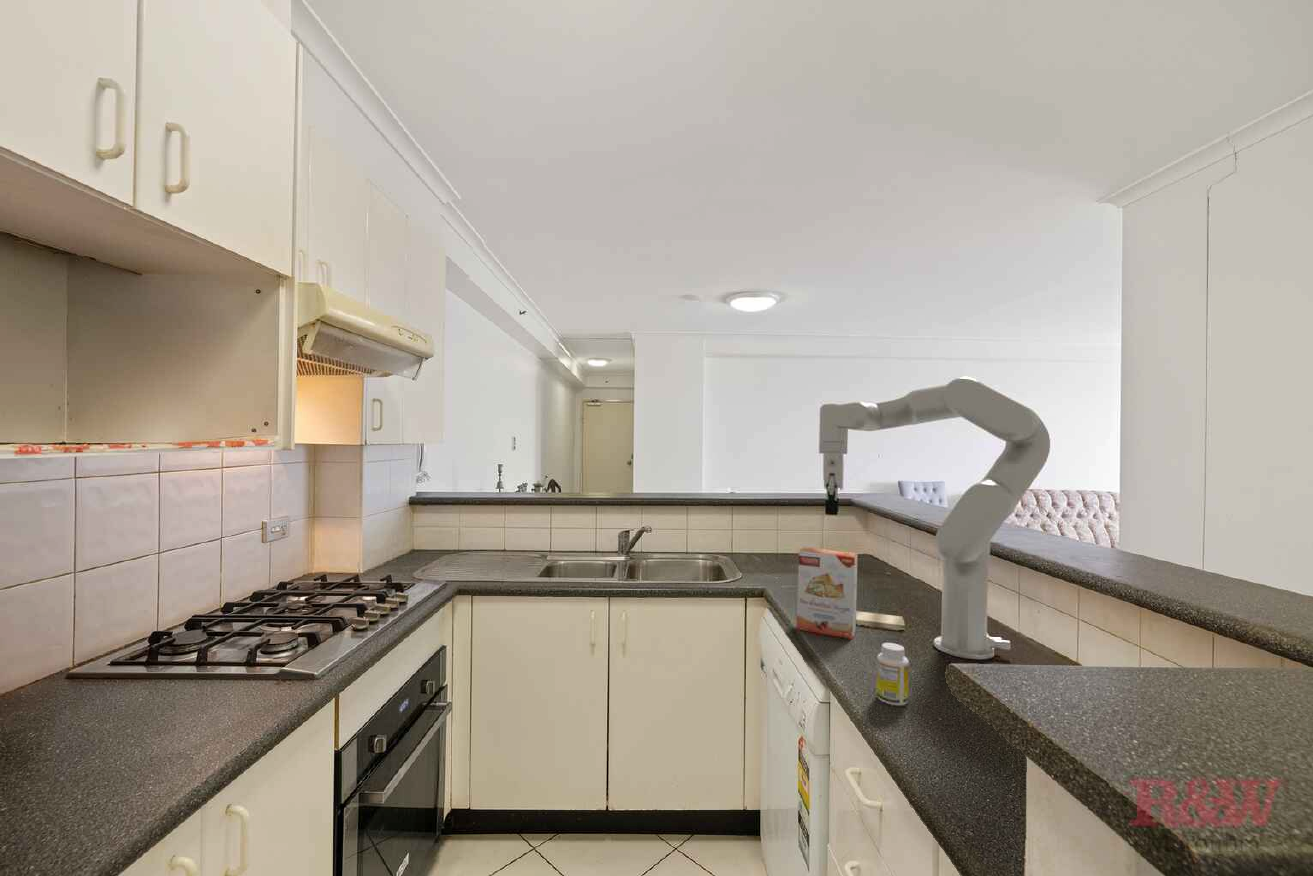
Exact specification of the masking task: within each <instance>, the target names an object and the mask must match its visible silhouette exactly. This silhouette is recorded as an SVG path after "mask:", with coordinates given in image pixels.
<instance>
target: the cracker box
mask: <svg viewBox="0 0 1313 876" xmlns="http://www.w3.org/2000/svg"><path fill="white" fill-rule="evenodd" d="M858 556H859V555H858V553H854V552H847V551H840V550H839V551H838V550H831V549H823V548H815V547H808V546H807V547H806V546H805V547H802V548H801V549H800V550H799V551H798V569H797V572H798V575H797V606H796V610H797V611H796V630H800V631H805V632H809V633H817V634H821V635H826V636H832V637H836V636H839V637H838V638H841V637H844V638H843V639H846V638H848V639H847V640H853V639H854V637H855V634H856V627H857V625H856V611H857V594H858V593H857V590H858V589H857V587H858V586H857V585H858Z"/></svg>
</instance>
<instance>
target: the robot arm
mask: <svg viewBox="0 0 1313 876" xmlns="http://www.w3.org/2000/svg"><path fill="white" fill-rule="evenodd" d="M956 418H957V419H959V418H962V419H964V420H966V421H968V422H970V423H971V424H973V425H975V426H977V427H978V428H979V429H982V430H984V431H985V432H987V433H989V434H990V435H992V436H994V437H996V438H997V439H999V440H1002V441H1004V442H1005V447H1004V449H1003V451H1002V452H1001V454H999V456H998V457H997V459H996V460H995V461H994V463H993V465H992V466H991V468H990V469H989V470H988V472H987V473H986V474H985V476H984V477H983V478H982V479H981V480H980V481H979V482H977V483H974V484H973V485H971V486H970V487H969V488H968V489H966V491H964V493H963V494H962V496H961V497H960V499H959V500H958V501H957V503H955V505H954V507H953V508H952V510H951V511H950V513H949V514H948V516H947V517H946V518H945V520H944V521H943V522H942V524H940V526H939V528H938V530H937V532H936V533H935V539H934V541H935V546H936V549H937V552H938V553H939V554H940V555H941V556H942V558H943V562H942V563H943V564H942V581H941V582H942V585H941V586H942V587H941V621H940V622H941V624H940V625H941V626H940V627H941V629H940V631H941V632H940V634H941V635H940V636H937V637H935V638H934V639H933V646H934V647H935V648H936V649H937V650H939V651H941V652H943V653H945V654H948V655H951V656H954V657H958V658H961V659H962V658H963V659H969V660H990V659H992V658H994V656H995V648H996V649H997V648H998V649H1001V650H1009V651H1010V650H1011V647H1012V645H1011V641H1010V640H1004V639H1002V638H1001V637H995V636H994V637H992V636H990V635H989V633H988V632H987V631H988V596H989V595H988V593H989V592H988V591H989V568H990V567H989V566H990V555H991V540H992V538H993V537H994V535H996V533H997V532H998V530H999V529H1000V527H1002V526H1003V524H1004V523H1005V522H1006V520H1007V519H1008V518H1009V517H1010V516H1011V515H1012V514H1013V513H1014V511H1015V509H1016V507H1017V505H1018V504H1019V502H1020V501H1021V499H1022V497H1024V496H1025V494H1026V492H1027V491H1028V490H1029V488H1030V487H1031V486H1032V484H1033V483H1034V481H1035V479H1036V478H1037V477H1038V475H1039V474H1040V473H1041V471H1042V469H1043V468H1044V467H1045V464H1046V463H1047V461H1048V458H1049V454H1050V451H1051V438H1050V434H1049V432H1048V429H1047V427H1046V425H1045V424H1044V422H1043V420H1042V419H1041V418H1040V416H1039V415H1038V414H1037V413H1036V412H1035V411H1034V410H1033V409H1032V408H1029V407H1027V406H1025V405H1024V404H1021V403H1020V402H1018V401H1016V400H1014V399H1012V398H1010V397H1008V396H1006V395H1004V394H1002V393H1001V392H998V390H997V391H996V390H995V389H994V388H993V389H992V388H991V387H989V386H987V385H986V384H984V383H982V382H981V381H979V380H977V379H975V378H973V377H969V376H963V377H956V378H955V379H952V380H951V381H949V382H948V383H946V384H941V385H936V386H931V387H926V388H919V389H915V390H912V391H909V392H908V393H907V394H906V395H904V396H903V397H900V398H896V399H893V400H887V401H883V402H877V403H876V402H875V403H868V402H862V401H855V402H848V403H825V404H822V405H821V406H820V409H819V435H818V436H819V438H818V439H819V441H818V442H819V443H818V444H819V445H818V454H823V456H822V461H823V462H822V470H823V471H822V472H823V473H822V477H823V488H824V489H825V490H826V497H825V501H824V502H825V503H824V504H825V505H824V514H825V515H826V516H837V515H838V513H839V497H838V492H839V491H838V490H840V491H842V490H843V489H844V465H845V463H844V455H848V443H849V442H848V438H849V437H848V436H849V430H853V431H862V432H863V431H864V432H873V431H874V432H875V431H881V430H887V429H893V428H899V427H900V428H901V427H905V426H911V425H912V426H915V425H919V424H924V423H931V422H936V421H943V420H949V419H956Z"/></svg>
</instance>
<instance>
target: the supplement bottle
mask: <svg viewBox="0 0 1313 876" xmlns="http://www.w3.org/2000/svg"><path fill="white" fill-rule="evenodd" d="M880 651H881V652H880V653H878V655H877V656H876V697H877V699H878V700H879V701H880V702H882V703H884V702H885V703H884V704H886V703H887V705H889V704H890V706H894V705H895V707H896V706H900V707H901V706H905V705H907V703H908V702H909V671H910V670H909V667H910V663H909V662H910V661H909V659H908V658H907V656H905V654H906V653H905V647H904V646H902V645H901V644H897V643H893V642H884V643H882V644H881V650H880Z"/></svg>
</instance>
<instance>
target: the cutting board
mask: <svg viewBox="0 0 1313 876" xmlns="http://www.w3.org/2000/svg"><path fill="white" fill-rule="evenodd" d="M856 624H857V625H856V626H860V625H865V626H864V627H867V626H869V628H875V627H876V628H878V629H884V630H894V631H899V630H904V631H903V632H906V623H905V621H904V617H903V616H899V615H891V614H884V613H874V612H866V611H860V610H859V611H858V610H856Z"/></svg>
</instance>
